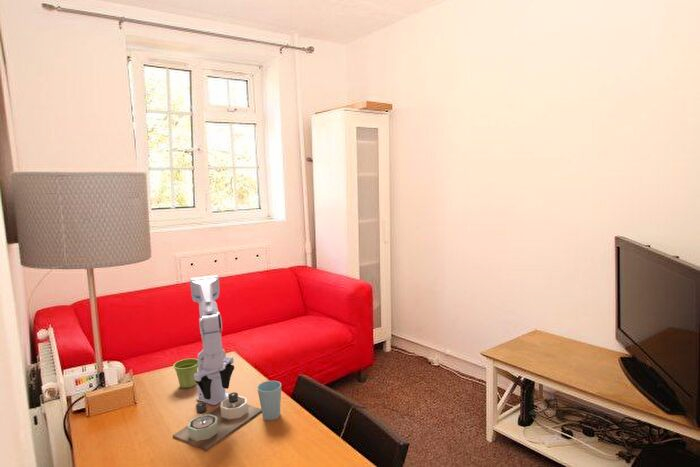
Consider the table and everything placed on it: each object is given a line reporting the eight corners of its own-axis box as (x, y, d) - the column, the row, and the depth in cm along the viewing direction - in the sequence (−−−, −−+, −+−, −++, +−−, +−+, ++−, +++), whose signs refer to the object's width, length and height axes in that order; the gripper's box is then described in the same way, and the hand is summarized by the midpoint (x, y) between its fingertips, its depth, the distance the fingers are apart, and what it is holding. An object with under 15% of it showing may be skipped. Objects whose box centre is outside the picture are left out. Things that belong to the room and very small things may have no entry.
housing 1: (183, 435, 134) (182, 425, 134) (205, 422, 141) (204, 412, 141) (202, 443, 130) (201, 432, 129) (223, 428, 137) (222, 418, 137)
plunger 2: (221, 413, 146) (219, 396, 145) (234, 405, 151) (233, 388, 150) (234, 418, 143) (233, 400, 142) (247, 409, 148) (246, 392, 147)
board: (172, 437, 135) (172, 435, 135) (230, 401, 155) (230, 399, 155) (206, 450, 127) (206, 448, 127) (262, 411, 148) (262, 409, 148)
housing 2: (216, 415, 145) (215, 405, 145) (234, 403, 152) (233, 394, 152) (234, 421, 141) (233, 411, 140) (252, 408, 148) (252, 399, 148)
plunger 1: (188, 425, 134) (186, 407, 133) (203, 416, 139) (202, 398, 138) (201, 430, 131) (200, 411, 130) (217, 420, 136) (215, 402, 135)
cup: (258, 423, 140) (256, 392, 139) (260, 411, 148) (258, 381, 146) (282, 420, 141) (280, 390, 140) (283, 408, 149) (281, 379, 147)
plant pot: (191, 377, 176) (189, 356, 175) (206, 382, 170) (204, 361, 169) (170, 386, 168) (168, 365, 167) (185, 392, 163) (182, 370, 162)
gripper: (204, 363, 130) (207, 406, 131) (239, 345, 142) (242, 385, 144) (187, 359, 133) (191, 401, 135) (223, 342, 146) (226, 381, 147)
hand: (216, 393), depth 139 cm, fingers open, 7 cm apart
